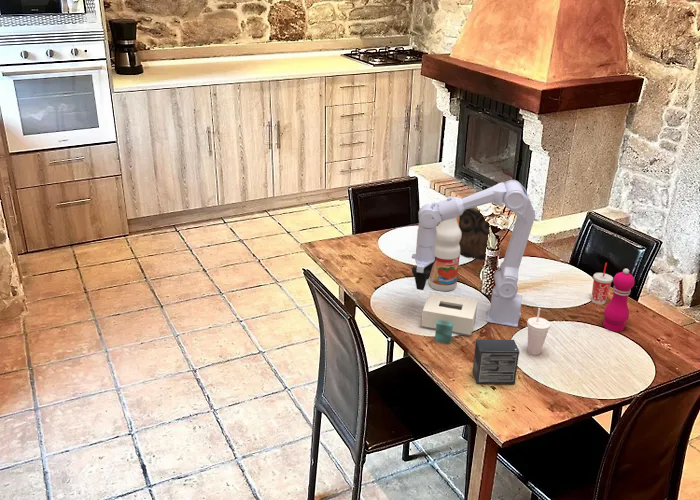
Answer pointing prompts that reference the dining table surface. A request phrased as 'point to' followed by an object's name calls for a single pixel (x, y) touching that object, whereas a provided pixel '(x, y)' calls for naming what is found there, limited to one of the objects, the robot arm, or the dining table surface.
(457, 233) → the fruit juice
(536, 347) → the smoothie
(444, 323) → the block
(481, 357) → the small box
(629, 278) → the pepper mill
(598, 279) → the beverage cup
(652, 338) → the dining table surface
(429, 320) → the money box
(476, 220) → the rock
